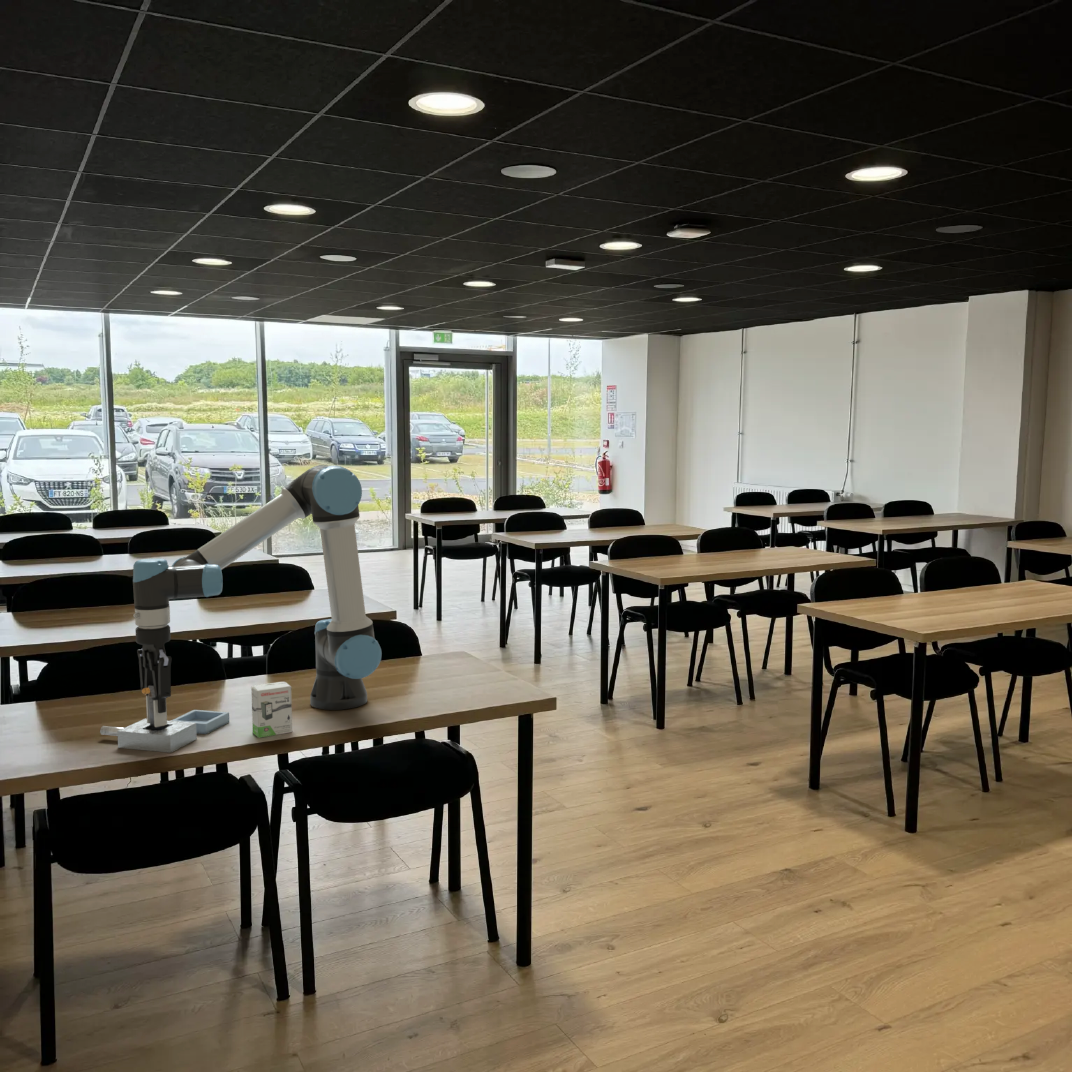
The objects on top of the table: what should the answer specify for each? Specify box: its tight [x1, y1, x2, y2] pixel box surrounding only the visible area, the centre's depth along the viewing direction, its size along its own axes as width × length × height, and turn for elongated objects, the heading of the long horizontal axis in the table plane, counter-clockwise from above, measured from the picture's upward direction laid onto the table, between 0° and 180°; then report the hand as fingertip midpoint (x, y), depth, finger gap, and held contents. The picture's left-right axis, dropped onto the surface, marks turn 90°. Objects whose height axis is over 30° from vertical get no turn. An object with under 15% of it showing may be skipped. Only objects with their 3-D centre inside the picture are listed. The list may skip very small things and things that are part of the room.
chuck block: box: [99, 718, 198, 754], centre depth 225 cm, size 22×10×4 cm, turn 76°
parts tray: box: [170, 709, 230, 735], centre depth 237 cm, size 10×10×2 cm
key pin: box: [141, 684, 166, 731], centre depth 224 cm, size 6×3×14 cm, turn 127°
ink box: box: [250, 681, 293, 739], centre depth 232 cm, size 9×5×12 cm, turn 123°
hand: (157, 723), depth 224 cm, fingers closed on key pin, 3 cm apart
